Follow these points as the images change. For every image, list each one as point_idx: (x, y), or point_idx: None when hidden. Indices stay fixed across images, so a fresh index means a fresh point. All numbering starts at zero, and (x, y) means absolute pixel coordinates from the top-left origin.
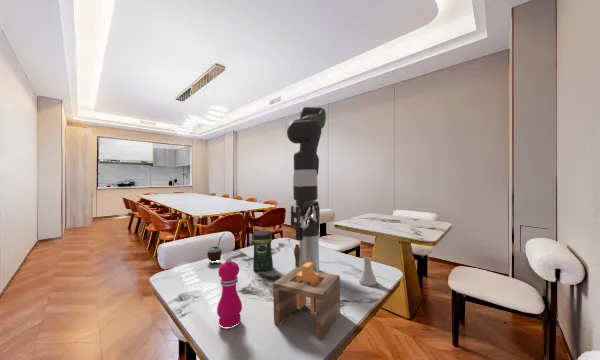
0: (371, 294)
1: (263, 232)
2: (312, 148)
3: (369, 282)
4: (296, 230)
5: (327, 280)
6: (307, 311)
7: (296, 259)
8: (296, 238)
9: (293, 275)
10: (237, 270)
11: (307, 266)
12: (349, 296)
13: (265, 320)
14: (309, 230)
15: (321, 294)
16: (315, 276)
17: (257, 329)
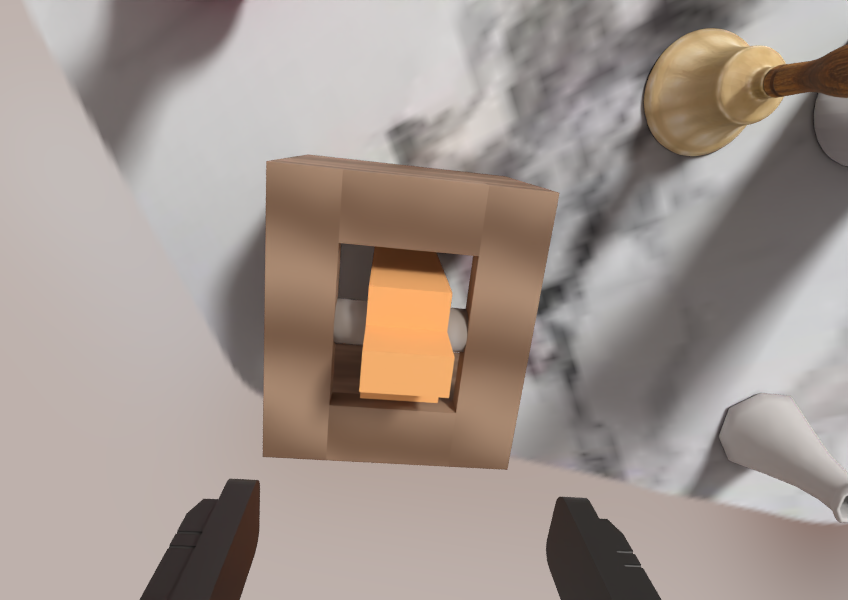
0: (647, 453)
1: None
2: None
3: (733, 446)
4: (147, 595)
5: (423, 433)
6: (440, 254)
7: (805, 74)
8: (227, 489)
9: (420, 234)
10: None
11: (373, 385)
12: (610, 380)
13: (308, 106)
14: (570, 526)
15: (265, 452)
16: (391, 396)
17: (240, 107)
